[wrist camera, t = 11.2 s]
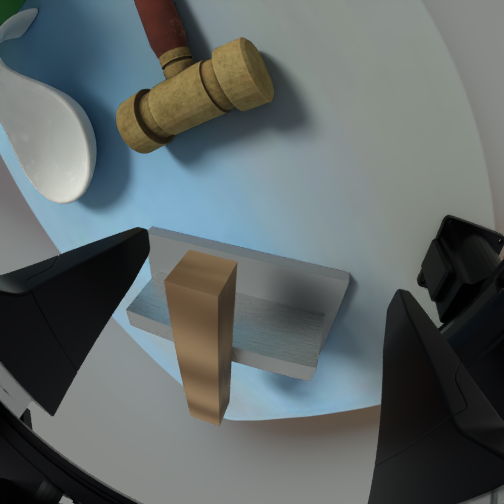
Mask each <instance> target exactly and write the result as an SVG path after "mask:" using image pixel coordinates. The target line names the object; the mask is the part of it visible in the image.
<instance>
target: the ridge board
mask: <svg viewBox="0 0 504 504" xmlns="http://www.w3.org/2000/svg"><path fill="white" fill-rule="evenodd" d="M148 233H149V241H150V253H149V255H148V256H149V263H150V269H151V275H152V277H153V276H154V275H155V274H156V273H157V271H158V270H160V271H164V272H167V273H170V272H171V271H172V270H173V269H174V267H175V266H176V265H177V264H178V262H179V261H180V260H181V259H182V258H183V256H184V255H185V254H186V253H187V251H188V250H193V251H197V252H201V253H205V254H209V255H213V256H217V257H221V258H225V259H229V260H233V261H237V277H236V292H238V293H242V294H246V295H250V296H253V297H257V298H261V299H265V300H269V301H273V302H277V303H281V304H285V305H289V306H293V307H297V308H301V309H306V310H310V311H314V312H318V313H323V314H325V317H324V324H323V330H322V337H321V343H320V349H319V354H320V352H321V350H322V348H323V345H324V343H325V341H326V339H327V336H328V334H329V332H330V329H331V327H332V324H333V322H334V320H335V317H336V315H337V312H338V310H339V307H340V305H341V302H342V300H343V297H344V294H345V292H346V289H347V287H348V284H349V273H348V272H344V271H340V270H335V269H331V268H327V267H323V266H318V265H314V264H310V263H306V262H301V261H297V260H293V259H289V258H285V257H280V256H276V255H272V254H268V253H263V252H259V251H255V250H251V249H246V248H242V247H238V246H233V245H229V244H225V243H221V242H216V241H212V240H208V239H204V238H199V237H195V236H191V235H186V234H182V233H178V232H174V231H169V230H165V229H161V228H156V227H151V228H150V229H149V230H148Z"/></svg>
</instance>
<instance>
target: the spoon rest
mask: <svg viewBox="0 0 504 504" xmlns="http://www.w3.org/2000/svg"><path fill="white" fill-rule="evenodd" d="M37 13H38V9H37V8H32V9H27V10H24V11H22V12H19V13H17V14H15V15H13V16H12V17H10V18H9V19H8V20H6V21H5V22H4V23H3V24H2V25H1V26H0V45H1V42H3V41H5V40H8V39H13V38H19V37H21V36H22V35H23V34H24V33H25V32H26V31H27V29H28V28H29V26H30V25H31V23H32V22H33V21H34V19H35V17H36V16H37ZM0 122H1V124H2V126H3V129H4V131H5V133H6V135H7V137H8V139H9V142H10V144H11V146H12V148H13V150H14V152H15V154H16V156H17V158H18V160H19V163H20V165H21V167H22V169H23V170H24V172H25V174H26V176H27V177H28V179H29V180H30V182H31V183H32V184H33V186H34V187H35V188H36V189H37V190H38V191H39V192H40V193H41V194H42V195H43V196H44V197H46V198H47V199H49V200H51V201H53V202H56V203H60V204H67V203H71V202H73V201H76V200H77V199H79V198H80V197H81V196H82V195H83V194H84V193H85V192H86V190H87V188H88V187H89V184H90V182H91V179H92V176H93V173H94V169H95V164H96V154H97V147H96V139H95V134H94V130H93V127H92V125H91V122H90V120H89V118H88V116H87V114H86V113H85V111H84V110H83V108H82V107H81V106H80V105H79V104H78V103H77V102H76V101H75V100H74V99H73V98H71V97H70V96H69V95H67V94H66V93H64V92H62V91H60V90H58V89H56V88H54V87H52V86H50V85H47V84H45V83H43V82H40V81H38V80H35V79H32V78H30V77H27V76H24V75H22V74H20V73H18V72H16V71H14V70H12V69H11V68H9V67H8V66H6V65H5V64H4V62H3V61H2V59H1V57H0Z"/></svg>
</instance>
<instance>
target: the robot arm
mask: <svg viewBox="0 0 504 504" xmlns="http://www.w3.org/2000/svg"><path fill="white" fill-rule="evenodd" d="M448 221H451V223H450V224H447V222H448ZM500 239H501V241H500V242H499V240H500ZM503 246H504V236H503V235H502V234H500V233H498V232H495V231H493V230H490V229H487V228H485V227H482V226H480V225H477V224H474V223H471V222H469V221H466V220H463V219H460V218H457V217H454V216H451V215H447V216H445V217H444V219H443V221H442V223H441V226H440V228H439V231H438V233H437V236H436V238H435V239H433V240H432V242H431V245H430V247H429V249H428V252H427V254H426V256H425V258H424V260H423V263H422V265H421V267H422V269H421V271H420V273H419V275H418V277H417V282H418V285H419V286H421V287H425V288H428V291H429V295H430V298H431V300H432V301H434V302H435V303H436V307H437V311H438V315H439V319H440V322H442V323H444V324H443V325H442V326H441V327H440V328H437V327H436V326H435V324H434V323H433V322H432V320H431V319H430V318H429V316H428V315H427V314H426V312H425V311H424V310H423V308H422V307H421V306H420V304H419V303H418V302H417V301H416V299H415V298H414V297H413V295H412V294H411V293H410V292H409V291H407V290H402V289H398V290H397V291H396V293H395V295H394V297H393V299H392V300H391V302H390V304H389V306H388V309H387V316H386V328H385V338H384V347H383V377H382V399H381V414H380V426H379V436H378V445H377V453H376V460H375V468H374V473H373V479H372V485H371V490H370V496H369V500H368V504H504V259H503V260H502V261H501V259H500V258H499V254H500V252H501V250H502V248H503ZM149 253H150V241H149V233H148V230H147V229H144V228H140V227H136V228H133V229H130V230H127V231H124V232H121V233H118V234H115V235H112V236H109V237H107V238H104V239H101V240H98V241H95V242H92V243H90V244H87V245H84V246H81V247H79V248H76V249H73V250H71V251H68V252H65V253H63V254H60V255H59V256H55V257H52V258H50V259H47V260H44V261H42V262H39V263H36V264H33V265H30V266H28V267H25V268H21V269H18V270H16V271H13V272H10V273H7V274H3V275H0V504H60V503H59V501H60V500H61V497H62V496H65V497H67V498H69V499H71V500H73V503H74V504H143V503H141V502H139V501H137V500H135V499H133V498H131V497H129V496H127V495H125V494H123V493H121V492H120V491H118V490H116V489H114V488H112V487H111V486H109V485H107V484H105V483H104V482H102V481H101V480H99V479H97V478H96V477H94V476H93V475H91V474H89V473H88V472H86V471H85V470H83V469H82V468H80V467H79V466H77V465H76V464H74V463H73V462H71V461H70V460H69V459H68V458H66V457H65V456H63V455H62V454H61V453H60V452H58V451H57V450H55V449H54V448H53V447H52V446H50V445H49V444H48V443H47V442H45V441H44V440H43V439H42V438H41V437H40V436H38V435H37V434H36V433H35V432H34V431H33V430H32V423H31V414H30V410H29V409H28V408H27V407H28V405H29V404H30V402H31V401H34V402H35V403H36V404H37V405H38V406H40V407H41V408H42V409H43V410H44V411H46V412H47V413H48V414H50V415H51V416H54V415H55V413H56V411H57V409H58V407H59V405H60V403H61V401H62V400H63V398H64V396H65V394H66V392H67V390H68V388H69V387H70V385H71V383H72V381H73V379H74V378H75V376H76V374H77V371H78V370H79V369H80V366H81V365H82V363H83V362H84V360H85V358H86V356H87V355H88V353H89V351H90V350H91V348H92V346H93V345H94V343H95V341H96V339H97V338H98V337H99V335H100V333H101V332H102V330H103V329H104V327H105V325H106V324H107V322H108V321H109V319H110V317H111V316H112V314H113V313H114V311H115V310H116V308H117V307H118V305H119V304H120V302H121V301H122V299H123V298H124V296H125V295H126V293H127V292H128V290H129V289H130V287H131V285H132V284H133V282H134V280H135V279H136V277H137V275H138V273H139V271H140V269H141V268H142V266H143V264H144V262H145V260H146V259H147V257H148V255H149ZM423 279H425V280H424V281H421V280H423Z"/></svg>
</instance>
